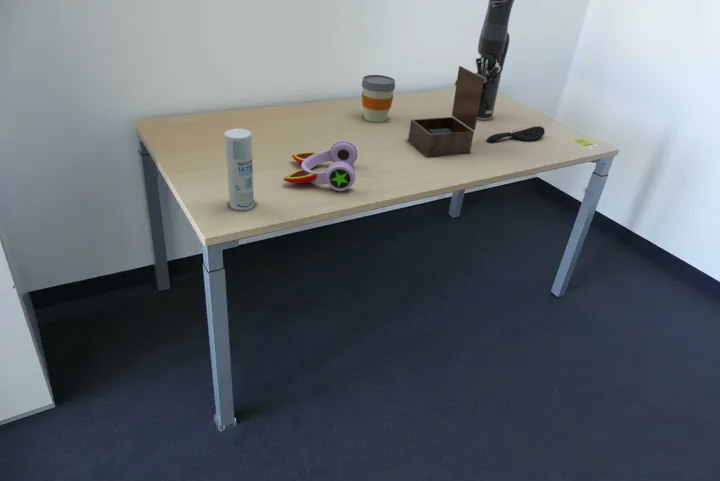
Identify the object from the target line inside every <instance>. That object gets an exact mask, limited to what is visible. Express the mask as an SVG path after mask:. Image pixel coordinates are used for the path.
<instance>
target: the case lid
mask: <svg viewBox="0 0 720 481" xmlns="http://www.w3.org/2000/svg"><path fill="white" fill-rule="evenodd" d="M456 81H457V84H456V83H455V92H454V97H453V98H454V100H453V106H452V112H451V117H453V118H455V119H456V120H458V121H459V122H461V123H462V124H464V125H465V126H467V127H468V128H469V129H471V130H472V131H476V127H477V122H478V119H477V116H478V110H479V104H480V99H481V93H482V87H483V83H486V82H487V78H486V77H484V76H482V75H481V74H479V73H477V72H475V73H474V72H473V71H471V70H470V69H467V68H465V67H463V66H461V65H459V66H458V70H457V78H456Z"/></svg>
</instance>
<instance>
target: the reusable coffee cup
mask: <svg viewBox="0 0 720 481" xmlns="http://www.w3.org/2000/svg"><path fill="white" fill-rule="evenodd" d="M361 87H362V92H361V104H362V107H363V119H364V120H366V121H368V122H371V123H384V122H386V121H388V116H389V112H390V109H391V108H392V104H393V99H394V90H395V89H396V80H395V79H394V78H393V77H391V76H387V75H382V74H368V75H364V76H363V77H362V82H361Z"/></svg>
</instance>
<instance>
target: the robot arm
mask: <svg viewBox="0 0 720 481" xmlns="http://www.w3.org/2000/svg"><path fill="white" fill-rule="evenodd" d="M514 3H515V0H488V3H487V9H486V14H485V16H484V20H483V23H482V27H481V31H480V35H479V38H478V42H477V53H478V55H480V57H479V58H478V57H477V58H475V64H476V69H477V71H476V73H479V74H481V75H482V76H484V77H486V78H487V82H486V83H483V87H482V93H481V99H480V104H479V110H478V116H477V121H490V120H492V119H493V117H494V116H493V114H494V111H495V105H496V102H497V96H498V91H499V86H500V82H501V78H502V73H503V69H504V66H505V62H506V57H507V54H508V51H509V46H510V38H511V37H510V33H509V32H508V30H509V22H510V18H511V17H510V16H511V14H512V9H513V6H514ZM456 84H457V80H456V81H455V85H456Z"/></svg>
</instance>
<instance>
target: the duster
mask: <svg viewBox="0 0 720 481" xmlns="http://www.w3.org/2000/svg"><path fill="white" fill-rule="evenodd" d="M428 132H429V133H431V134H438V133H451V132H452V131H451V130H449V129H448V128H443V129H430V130H428Z"/></svg>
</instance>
